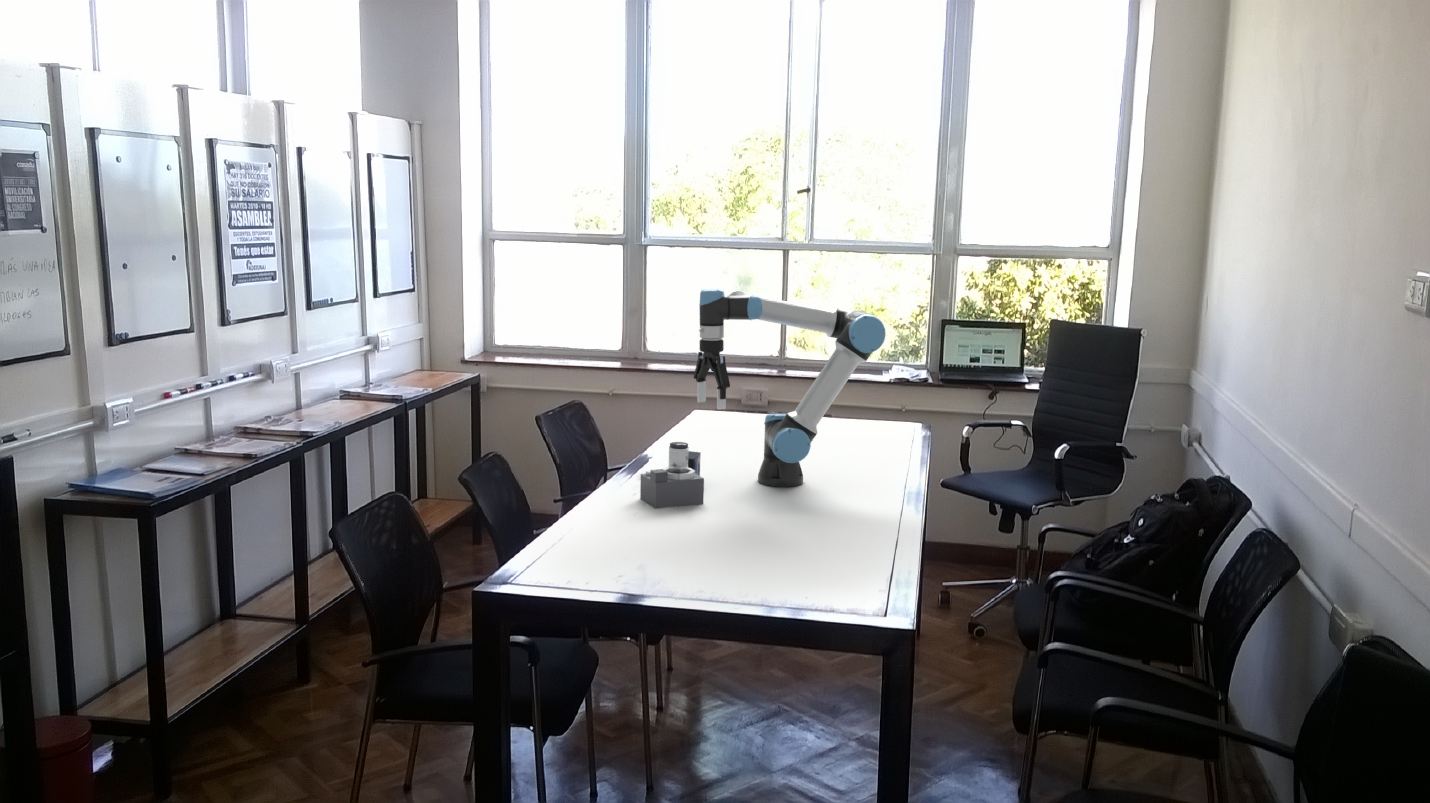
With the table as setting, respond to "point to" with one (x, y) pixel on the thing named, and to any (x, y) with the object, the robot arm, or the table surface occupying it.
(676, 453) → the lens
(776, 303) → the robot arm
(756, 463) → the table surface
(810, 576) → the table surface
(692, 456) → the small box
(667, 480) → the camera body
